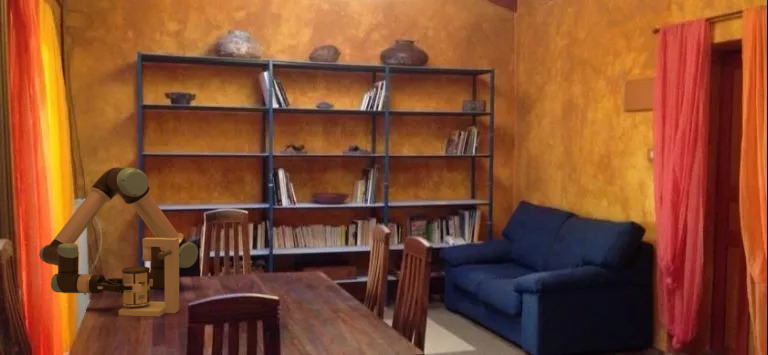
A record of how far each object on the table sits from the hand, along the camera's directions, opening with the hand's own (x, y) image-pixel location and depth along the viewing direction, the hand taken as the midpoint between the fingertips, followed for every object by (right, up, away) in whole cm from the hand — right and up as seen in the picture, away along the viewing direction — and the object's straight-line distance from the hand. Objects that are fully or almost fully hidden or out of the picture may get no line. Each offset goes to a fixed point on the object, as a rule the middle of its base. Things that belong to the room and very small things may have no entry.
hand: (146, 285), depth 276 cm
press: (+2, -10, -1) cm, 11 cm away
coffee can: (-4, -8, +1) cm, 9 cm away
